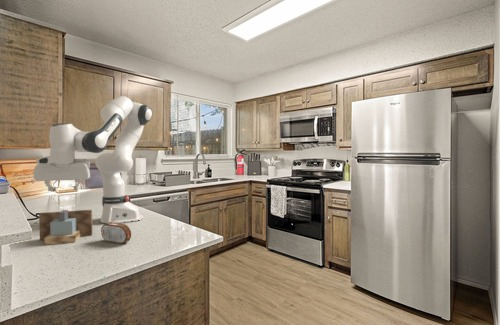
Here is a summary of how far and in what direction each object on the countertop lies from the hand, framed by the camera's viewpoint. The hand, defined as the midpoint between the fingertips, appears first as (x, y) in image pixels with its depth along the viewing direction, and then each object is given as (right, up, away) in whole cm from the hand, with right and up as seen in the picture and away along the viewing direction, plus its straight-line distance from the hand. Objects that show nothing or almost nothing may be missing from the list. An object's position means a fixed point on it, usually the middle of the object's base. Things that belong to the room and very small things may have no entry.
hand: (63, 190), depth 112 cm
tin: (+24, -23, -1) cm, 33 cm away
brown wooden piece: (0, -22, 0) cm, 22 cm away
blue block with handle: (0, -19, 0) cm, 19 cm away
